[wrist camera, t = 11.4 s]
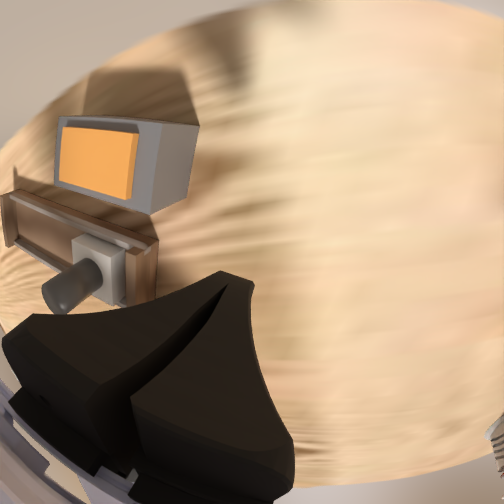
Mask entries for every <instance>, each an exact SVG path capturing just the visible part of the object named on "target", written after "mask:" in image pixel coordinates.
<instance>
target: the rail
mask: <svg viewBox="0 0 504 504" xmlns="http://www.w3.org/2000/svg"><path fill="white" fill-rule="evenodd" d="M0 206H1V216H2V225H3V233H4V239H5V246H7V247H8V248H9V247H11V246H13V245H16V246H17V247H19V248H20V249H22V250H23V251H25V252H26V253H28V254H29V255H31V256H32V257H34V258H35V259H37V260H38V261H40V262H42V263H43V264H45V265H46V266H48V267H50V268H51V269H53V270H54V271H56V272H58V273H61V272H63V271H64V270H66V269H67V268H69V267H70V266H72V265H73V254H72V239H74V238H76V237H78V236H80V235H82V234H84V233H88V234H91V235H93V236H95V237H98V238H100V239H103V240H105V241H108V242H110V243H112V244H115V245H117V246H120V247H122V248H125V296H124V297H123V298H122V299H121V300H120V301H119V302H118V303H116V305H118V306H120V307H122V308H125V307H130V306H134V305H138V304H141V303H145V302H148V301H152V300H155V290H156V271H157V257H158V244H159V240H156V239H153V238H151V237H148V236H145V235H142V234H139V233H136V232H134V231H131V230H128V229H125V228H122V227H120V226H117V225H114V224H111V223H109V222H106V221H103V220H100V219H97V218H95V217H92V216H89V215H87V214H84V213H81V212H78V211H76V210H73V209H70V208H68V207H65V206H62V205H60V204H57V203H54V202H52V201H49V200H46V199H44V198H41V197H39V196H36V195H33V194H31V193H28V192H26V191H23V190H20V189H18V190H15V191H12V192H9V193H6V194H3V195H0Z"/></svg>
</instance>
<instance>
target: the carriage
mask: <svg viewBox="0 0 504 504" xmlns="http://www.w3.org/2000/svg"><path fill="white" fill-rule="evenodd" d="M72 254H73V265H72V266H70V267H69V268H67V269H66V270H64V271H63V272H61V273H59V274H58V275H56V276H55V277H53V278H52V279H50V280H49V281H47V282H46V283H44V284H43V285H42V295H43V298H44V300H45V302H46V304H47V306H48V307H49V309H50V310H51V311H52V312H53V313H54V314H62V315H66V314H67V313H69V312H70V311H71V310H72V309H74V308H75V307H76V306H77V305H79V304H80V303H81V302H82V301H84V300H85V299H86V298H87V297H89V296H90V295H93V296H94V297H96V298H98V299H100V300H102V301H104V302H106V303H108V304H109V305H111V306H114V305H115V304H116V303H118V302H119V301H120V300H121V299H122V298H123V297H124V296H125V248H122V247H120V246H117V245H115V244H112V243H110V242H108V241H105V240H103V239H100V238H98V237H95V236H93V235H91V234H88V233H84V234H82V235H80V236H78V237H76V238H74V239H72Z"/></svg>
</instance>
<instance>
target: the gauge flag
mask: <svg viewBox="0 0 504 504" xmlns="http://www.w3.org/2000/svg"><path fill="white" fill-rule="evenodd" d="M138 138H139V133H131V132H123V131H115V130H106V129H95V128H83V127H63V130H62V140H61V151H60V168H59V181H63V182H66V183H69V184H73V185H76V186H80V187H83V188H87V189H90V190H93V191H97V192H100V193H103V194H107V195H110V196H114V197H117V198H120V199H124V200H127V199H130V198H131V196H132V185H133V175H134V167H135V159H136V152H137V145H138Z"/></svg>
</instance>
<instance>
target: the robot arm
mask: <svg viewBox="0 0 504 504" xmlns="http://www.w3.org/2000/svg"><path fill="white" fill-rule="evenodd" d="M254 286H255V285H254V283H253V281H250V280H247V279H244V278H241V277H238V276H235V275H232V274H229V273H226V272H223V271H218V272H216V273H214V274H212V275H210V276H208V277H206V278H204V279H202V280H200V281H198V282H196V283H194V284H192V285H189V286H187V287H185V288H183V289H181V290H178V291H176V292H173V293H171V294H168V295H166V296H163V297H161V298H158V299H155V300H152V301H148V302H145V303H141V304H138V305H134V306H130V307H125V308H120V309H114V310H109V311H103V312H95V313H85V314H66V315H62V314H34V313H33V314H32V315H30V316H29V317H28V318H26V319H25V320H24V321H23V322H21V323H20V324H19V325H18V326H16V327H15V328H14V329H13V330H11V331H10V332H9V333H8V334H6V335H5V336H4V337H3V338H2V348H3V352H4V354H5V356H6V358H7V360H8V362H9V364H10V366H11V368H12V370H13V372H14V374H15V375H16V377H17V379H18V381H19V382H20V384H21V386H22V388H20V390H18V392H16V394H14V393H13V392H12V391H11V390H10V389H9V388H8V387H7V386H6V385H5V384H4V382H3V381H2V380H1V379H0V504H86V503H84V502H83V501H81V500H80V499H78V498H77V497H75V496H74V495H73V494H71V493H70V492H68V491H67V490H66V489H64V488H63V487H62V486H60V485H59V484H58V483H57V482H55V481H54V480H53V479H51V478H50V477H49V476H48V475H46V474H45V470H46V469H47V468H48V466H49V465H50V464H49V461H47V460H46V459H45V458H44V457H43V456H42V455H41V454H39V452H38V451H37V450H36V449H35V448H33V447H32V446H31V445H30V444H29V442H28V441H27V440H26V439H25V438H24V437H23V436H22V435H21V434H20V433H19V432H18V431H17V430H16V429H15V428H14V427H13V419H14V420H15V421H16V422H17V423H18V424H19V425H20V426H21V427H22V428H23V429H24V430H25V431H26V432H27V433H28V434H29V435H30V436H31V437H32V438H33V439H34V440H35V441H36V442H38V443H39V444H40V445H41V446H42V447H43V448H44V449H46V450H47V451H48V452H49V453H50V454H51V455H53V456H54V457H55V458H56V459H58V460H59V461H60V462H62V463H63V464H64V465H65V466H67V467H68V468H69V469H71V470H72V471H73V472H75V473H76V474H77V476H78V478H79V480H80V482H81V484H82V486H83V488H84V490H85V492H86V494H87V496H88V498H89V500H90V502H91V504H273V502H274V500H276V499H278V498H279V497H281V496H283V495H285V494H286V493H288V492H289V491H290V490H291V489H292V488H293V483H294V476H295V454H294V444H293V439H292V437H291V436H290V434H289V432H288V431H287V429H286V427H285V425H284V423H283V422H282V420H281V418H280V416H279V414H278V412H277V410H276V408H275V406H274V403H273V401H272V399H271V397H270V394H269V392H268V389H267V386H266V384H265V381H264V378H263V376H262V373H261V370H260V366H259V363H258V359H257V355H256V351H255V346H254V341H253V334H252V326H251V297H252V293H253V290H254Z"/></svg>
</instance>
